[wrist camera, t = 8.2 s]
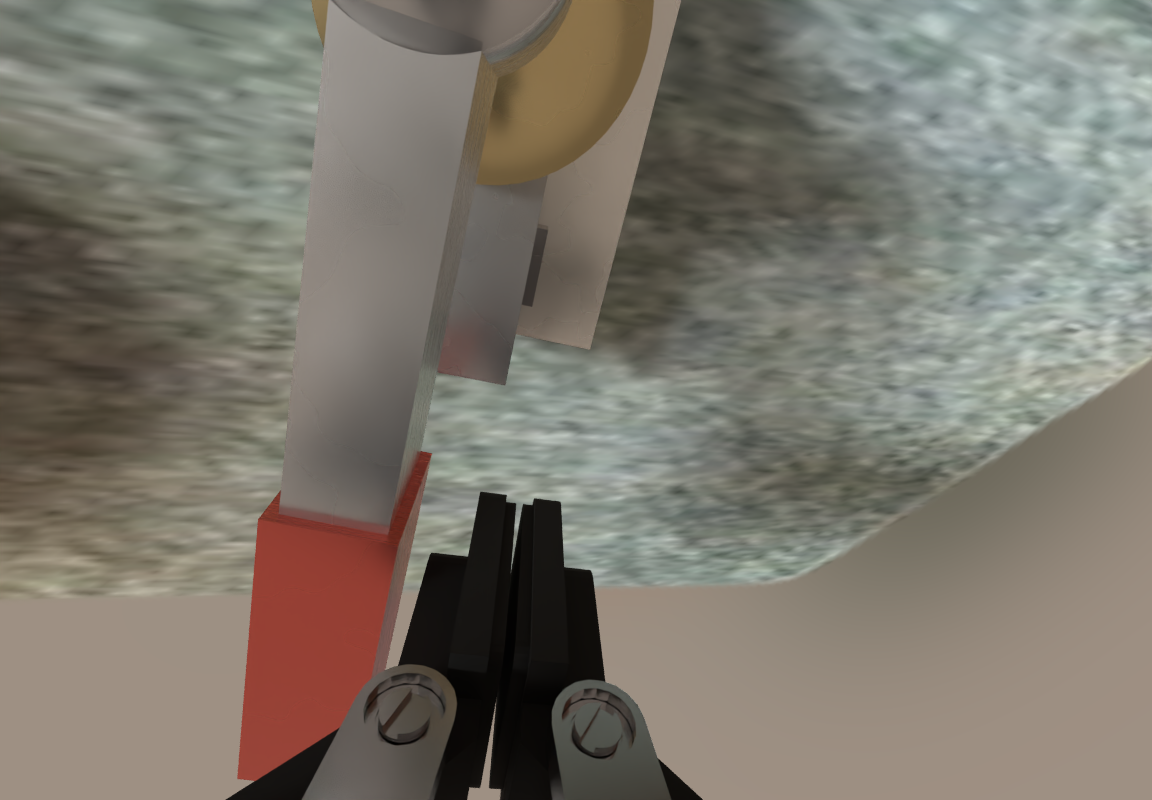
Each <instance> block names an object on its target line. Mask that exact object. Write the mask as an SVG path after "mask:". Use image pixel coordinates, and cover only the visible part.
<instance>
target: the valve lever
mask: <svg viewBox="0 0 1152 800" xmlns="http://www.w3.org/2000/svg"><path fill="white" fill-rule="evenodd" d="M571 4H572V0H329V1H328V12H327V22H326V32H325V42H324V53H323V63H322V73H321V84H320V94H319V104H318V114H317V125H316V135H315V145H314V156H313V166H312V176H311V186H310V197H309V207H308V217H307V228H306V238H305V248H304V259H303V269H302V279H301V289H300V300H299V310H298V320H297V331H296V341H295V351H294V361H293V372H292V382H291V392H290V403H289V413H288V423H287V433H286V444H285V454H284V464H283V475H282V485H281V491H280V492H279V493H278V494H277V496H276V497H275V498H274V500H273V501H272V502H271V504H270V505H269V506H268V507H267V509H266V510H265V511H264V513H263V514H262V515H261V517H260V518H259V519H258V528H257V540H256V553H255V565H254V578H253V590H252V603H251V615H250V628H249V640H248V653H247V665H246V678H245V691H244V702H243V703H244V704H243V716H242V727H241V740H240V752H239V765H238V779H244V780H253V781H256V780H258V779H259V778H261V777H262V776H264V775H266V774H267V773H269V772H270V771H272V770H273V769H275V768H277V767H278V766H280V765H281V764H283V763H284V762H286V761H288V760H289V759H291V758H292V757H294V756H296V755H297V754H299V753H300V752H302V751H303V750H305V749H307V748H308V747H310V746H311V745H313V744H314V743H316V742H318V741H319V740H321V739H322V738H324V737H326V736H327V735H329V734H330V733H332V732H333V731H335V730H337V729H338V728H340V726H341V724H342V722H343V721H344V719H345V717H346V715H347V713H348V711H349V709H350V707H351V705H352V704H353V702H354V700H355V698H356V696H357V695H358V693H359V692H360V691H361V689H362V688H363V687H364V685H365V684H366V683H367V682H368V681H369V680H371V679H372V678H373V677H375V676H376V675H377V674H378V673H380V672H383V671H385V668H386V663H387V658H388V654H389V650H390V645H391V641H392V636H393V631H394V627H395V622H396V617H397V613H398V608H399V604H400V599H401V594H402V590H403V585H404V580H405V576H406V571H407V567H408V562H409V557H410V553H411V548H412V543H413V539H414V534H415V530H416V525H417V520H418V516H419V511H420V506H421V502H422V497H423V492H424V488H425V483H426V479H427V474H428V469H429V465H430V460H431V455H432V454H431V453H427V452H422V451H421V447H422V443H423V438H424V433H425V428H426V423H427V418H428V414H429V409H430V404H431V399H432V394H433V389H434V384H435V380H436V375H437V370H438V365H439V360H440V355H441V351H442V346H443V341H444V336H445V331H446V326H447V322H448V317H449V312H450V307H451V302H452V297H453V293H454V288H455V283H456V278H457V273H458V268H459V264H460V259H461V254H462V249H463V244H464V239H465V234H466V230H467V225H468V220H469V215H470V210H471V205H472V201H473V196H474V191H475V186H476V181H477V176H478V172H479V167H480V162H481V157H482V152H483V147H484V143H485V138H486V133H487V128H488V123H489V118H490V113H491V109H492V104H493V99H494V94H495V89H496V84H497V80H498V78H499V77H502V76H504V75H507V74H510V73H512V72H514V71H516V70H518V69H520V68H522V67H523V66H525V65H526V64H528V63H529V62H530V61H532V60H533V59H534V58H536V57H537V56H538V55H539V54H540V53H541V52H542V51H543V50H544V49H545V48H546V47H547V46H548V44H549V43H550V42H551V40H552V39H553V38H554V37H555V35H556V34H557V32H558V30H559V29H560V27H561V25H562V24H563V22H564V20H565V18H566V16H567V13H568V11H569V9H570V6H571Z"/></svg>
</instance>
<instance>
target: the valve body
mask: <svg viewBox="0 0 1152 800" xmlns="http://www.w3.org/2000/svg"><path fill="white" fill-rule="evenodd" d="M328 1H329V0H312V7H313V12H314V16H315V20H316V24H317V28H318V32H319V35H320V38H321V41H322V44H323V47H324V42H325V32H326V22H327V12H328ZM680 3H681V0H572V4H571V6H570V9H569V11H568V13H567V16H566V18H565V20H564V22H563V24H562V25H561V27H560V29H559V30H558V32H557V34H556V35H555V37H554V38H553V39H552V40H551V42H550V43H549V44H548V46H547V47H546V48H545V49H544V50H543V51H542V52H541V53H540V54H539V55H538V56H537V57H536V58H534V59H533V60H532V61H530V62H529V63H528V64H526V65H525V66H523V67H522V68H520V69H518V70H516V71H514V72H512V73H510V74H507V75H504V76H502V77H499V78H498V80H497V84H496V89H495V94H494V99H493V104H492V109H491V113H490V118H489V123H488V128H487V133H486V138H485V143H484V147H483V152H482V157H481V162H480V167H479V172H478V176H477V181H476V186H475V191H474V196H473V201H472V205H471V210H470V215H469V220H468V225H467V230H466V234H465V239H464V244H463V249H462V254H461V259H460V264H459V268H458V273H457V278H456V283H455V288H454V293H453V297H452V302H451V307H450V312H449V317H448V322H447V326H446V331H445V336H444V341H443V346H442V351H441V355H440V360H439V365H438V370H437V372H439V373H445V374H450V375H455V376H460V377H465V378H470V379H475V380H480V381H485V382H490V383H495V384H501V385H505V384H506V379H507V374H508V369H509V364H510V359H511V354H512V349H513V344H514V340H515V335H516V334H518V335H523V336H528V337H532V338H537V339H542V340H547V341H551V342H556V343H561V344H566V345H570V346H575V347H580V348H585V349H589V350H590V348H591V344H592V340H593V336H594V333H595V329H596V325H597V321H598V317H599V313H600V310H601V306H602V302H603V298H604V294H605V290H606V287H607V283H608V279H609V275H610V271H611V268H612V264H613V260H614V256H615V252H616V248H617V245H618V241H619V237H620V233H621V229H622V225H623V222H624V218H625V214H626V210H627V206H628V202H629V199H630V195H631V191H632V187H633V183H634V179H635V176H636V172H637V168H638V164H639V160H640V156H641V153H642V149H643V145H644V141H645V137H646V134H647V130H648V126H649V122H650V118H651V114H652V111H653V107H654V103H655V99H656V95H657V91H658V88H659V84H660V80H661V76H662V72H663V68H664V65H665V61H666V57H667V53H668V49H669V45H670V42H671V38H672V34H673V30H674V26H675V22H676V19H677V15H678V11H679V7H680Z"/></svg>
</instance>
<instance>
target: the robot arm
mask: <svg viewBox="0 0 1152 800" xmlns="http://www.w3.org/2000/svg"><path fill="white" fill-rule="evenodd" d="M506 497H507V495H503V494H495V493H487V492H480V496H479V502H478V507H477V512H476V517H475V523H474V528H473V533H472V539H471V544H470V549H469V554H468V557H466V556H457V555H448V554H439V553H431V554H430V557H429V560H428V563H427V566H426V570H425V573H424V577H423V580H422V584H421V587H420V591H419V594H418V598H417V601H416V605H415V609H414V612H413V615H412V619H411V622H410V626H409V629H408V633H407V636H406V640H405V643H404V647H403V651H402V654H401V657H400V661H399V664H398V666H396V667H392V668H390V669H387V670H385V671H383V672H380V673H378V674H377V675H376V676H375V677H373V678H372V679H371V680H369V681H368V682H367V683H366V684H365V685H364V687H363V688H362V689H361V691H360V692H359V693H358V695H357V696H356V698H355V700H354V702H353V704H352V705H351V707H350V709H349V711H348V713H347V715H346V717H345V719H344V721H343V722H342V724H341V726H340V728H338V729H337V730H335V731H333V732H332V733H330V734H329V735H327V736H326V737H324V738H322V739H321V740H319V741H318V742H316V743H314V744H313V745H311V746H310V747H308V748H307V749H305V750H303V751H302V752H300V753H299V754H297V755H296V756H294V757H292V758H291V759H289V760H288V761H286V762H284V763H283V764H281V765H280V766H278V767H277V768H275V769H273V770H272V771H270V772H269V773H267V774H266V775H264V776H262V777H261V778H259V779H258V780H256V781H254V782H253V783H251V784H250V785H248V786H247V787H245V788H243V789H242V790H240V791H239V792H237V793H236V794H234V795H232V796H231V797H229V798H228V799H226V800H467V796H468V791H469V787H473V788H480V785H481V780H482V775H483V769H484V764H485V758H486V753H487V747H488V742H489V736H490V731H491V725H492V720H493V714H494V709H495V703H496V712H495V723H494V734H493V747H492V757H491V770H490V781H489V788H491V789H501V797H500V800H703V799H702V798H701V797H699V796H698V795H697V794H696V793H695V792H694V791H693V790H692V789H691V788H690V787H689V786H688V785H686V784H685V783H684V782H683V781H682V780H681V779H680V778H679V777H678V776H677V775H676V774H674V773H673V772H672V771H671V770H670V769H669V768H668V767H667V766H666V765H665V764H664V763H662V762H661V761H660V760H659V759H658V758H657V755H656V752H655V749H654V746H653V743H652V740H651V737H650V734H649V731H648V728H647V725H646V722H645V719H644V717H643V715H642V713H641V711H640V709H639V707H638V705H637V704H636V703H635V702H634V701H633V699H632V698H631V697H630V696H629V695H628V694H627V693H625V692H624V691H623V690H621V689H619V688H618V687H617V686H615V685H612V684H609V683H606V682H605V676H604V667H603V659H602V651H601V642H600V633H599V624H598V617H597V608H596V599H595V590H594V582H593V575H592V572H591V570H584V569H575V568H566V567H564V555H563V535H562V515H561V502H559V501H551V500H543V499H535V498H534V501H533V505H526V504H523V507H522V512H521V518H520V524H519V530H518V535H517V541H516V547H515V552H514V558H513V564H512V570H511V562H512V549H513V537H514V524H515V512H516V503H509V502H506ZM496 698H497V699H496Z"/></svg>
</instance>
